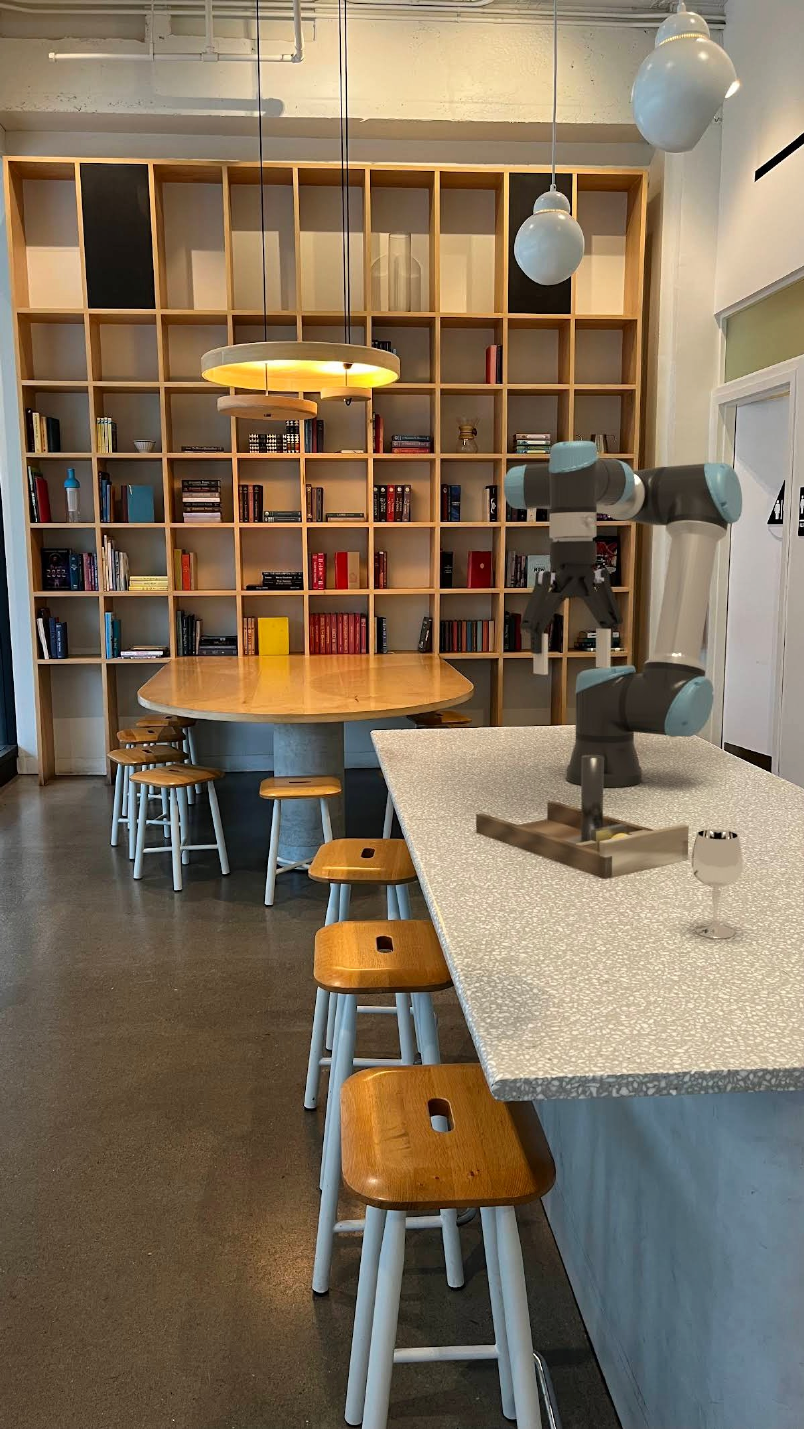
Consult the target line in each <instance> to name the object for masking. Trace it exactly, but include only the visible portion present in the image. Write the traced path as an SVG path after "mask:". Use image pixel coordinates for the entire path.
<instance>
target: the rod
mask: <svg viewBox="0 0 804 1429" xmlns="http://www.w3.org/2000/svg"><path fill="white" fill-rule="evenodd" d="M603 774H604V757H603V756H600V755H584V756H582V784H581V785H580V786H581V788H580V789H581V792H580V796H581V802H580V804H581V806H580V809H581V837H579V838H574V839H569V840H565V841H568V842H571V843H574V844H577V843H582V842H587V841H591V840H592V841H595V842H597V851H598V852H600V841H604V840H609V839H611V838H612V837H613V836H614V835H616V834H619V833H625V834H627V825H624V824H617V825H612V826H607V827H603V815H604V787H603Z"/></svg>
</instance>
